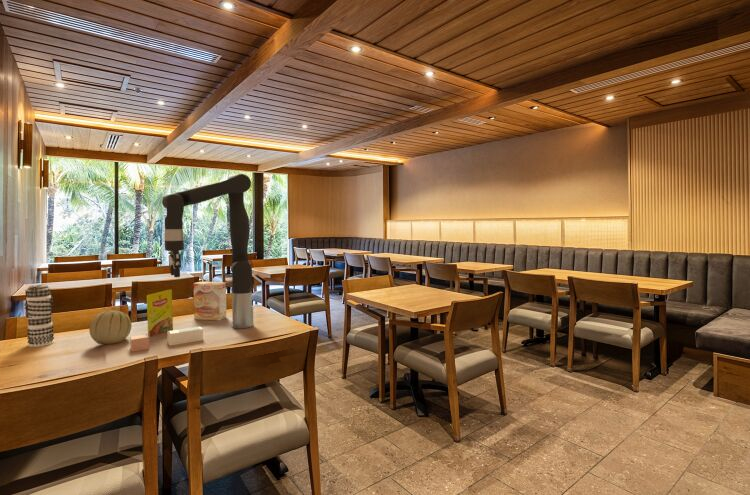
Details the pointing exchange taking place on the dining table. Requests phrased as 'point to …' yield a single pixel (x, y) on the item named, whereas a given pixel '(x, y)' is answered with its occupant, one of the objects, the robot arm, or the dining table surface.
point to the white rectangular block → (184, 335)
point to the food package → (159, 312)
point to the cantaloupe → (110, 327)
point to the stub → (139, 342)
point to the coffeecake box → (209, 300)
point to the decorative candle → (39, 316)
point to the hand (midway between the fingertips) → (175, 276)
